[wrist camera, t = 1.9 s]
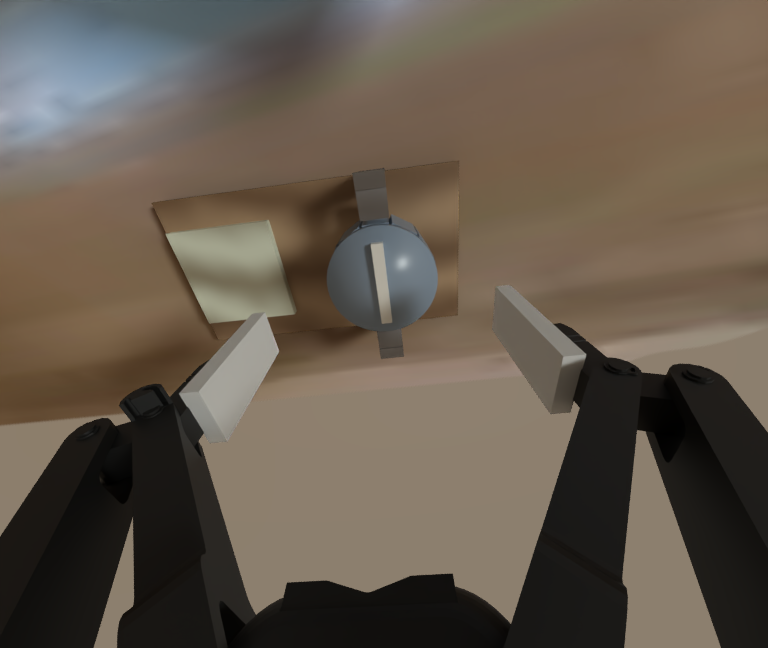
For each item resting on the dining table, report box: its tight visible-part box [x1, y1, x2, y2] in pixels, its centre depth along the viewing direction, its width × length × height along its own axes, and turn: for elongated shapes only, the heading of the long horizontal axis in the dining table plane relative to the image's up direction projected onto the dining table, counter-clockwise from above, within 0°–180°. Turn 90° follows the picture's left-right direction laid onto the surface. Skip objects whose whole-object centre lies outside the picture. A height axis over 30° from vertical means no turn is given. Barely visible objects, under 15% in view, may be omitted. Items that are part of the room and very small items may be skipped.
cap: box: [327, 214, 438, 331], centre depth 22 cm, size 11×8×6 cm
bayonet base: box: [152, 161, 459, 359], centre depth 24 cm, size 14×26×7 cm, turn 97°
